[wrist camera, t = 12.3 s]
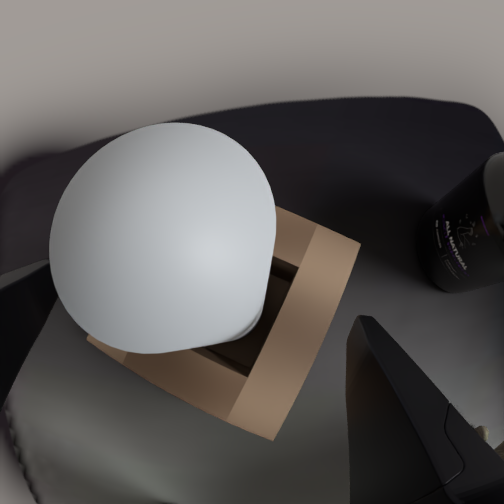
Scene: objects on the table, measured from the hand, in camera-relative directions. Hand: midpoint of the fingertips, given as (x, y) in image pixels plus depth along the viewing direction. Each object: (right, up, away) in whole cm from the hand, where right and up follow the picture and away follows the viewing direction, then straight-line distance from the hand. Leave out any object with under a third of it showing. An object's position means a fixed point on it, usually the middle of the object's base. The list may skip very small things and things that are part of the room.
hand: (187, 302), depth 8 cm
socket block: (0, -2, +10) cm, 10 cm away
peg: (0, -2, +9) cm, 9 cm away
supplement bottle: (+16, +1, +11) cm, 20 cm away
